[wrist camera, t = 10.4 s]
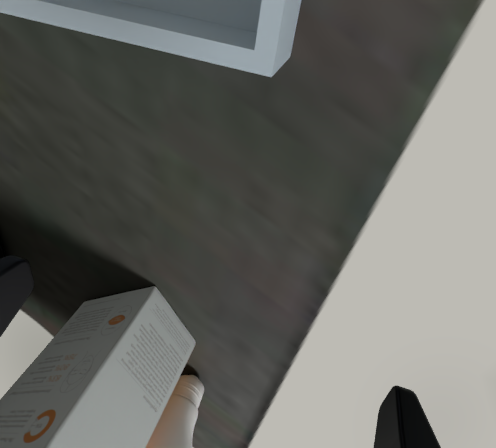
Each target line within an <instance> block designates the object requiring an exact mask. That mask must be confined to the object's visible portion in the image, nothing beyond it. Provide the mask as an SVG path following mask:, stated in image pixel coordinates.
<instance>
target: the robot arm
mask: <svg viewBox="0 0 496 448" xmlns="http://www.w3.org/2000/svg"><path fill="white" fill-rule="evenodd" d="M33 287H34V279H33V275H32V271H31V268H30V264H29V262H28V261H27V260H26V259H24V258H21V257H18V256H14V255H10V256H6V255H5V252H4V248H3V245H2V242H1V238H0V337H1V335H2V334H3V332H4V331H5V330H6V328H7V327H8V325H9V324H10V322H11V321H12V319H13V318H14V317H15V315H16V314H17V312H18V311H19V309H20V308H21V307H22V305H23V304H24V302H25V301H26V299H27V298H28V296H29V295H30V294H31V292H32V290H33ZM374 448H441V447H440V445H439V443H438V441H437V439H436V437H435V435H434V432H433V430H432V428H431V426H430V424H429V422H428V419H427V417H426V415H425V413H424V411H423V409H422V407H421V405H420V402H419V400H418V398H417V396H416V394H415V393H414V392H413V391H411V390H409V389H405V388H402V387H399V386H394V387H393V388H392V389H391V391H390V392H389V393H388V395H387V397H386V398H385V400H384V401H383V403H382V405H381V406H380V410H379V413H378V420H377V428H376V435H375V442H374Z"/></svg>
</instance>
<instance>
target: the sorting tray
mask: <svg viewBox="0 0 496 448" xmlns="http://www.w3.org/2000/svg"><path fill="white" fill-rule="evenodd" d="M300 5H301V0H0V12H1V13H5V14H9V15H14V16H18V17H22V18H26V19H30V20H34V21H39V22H43V23H47V24H51V25H55V26H59V27H64V28H68V29H72V30H76V31H80V32H85V33H89V34H93V35H97V36H101V37H105V38H110V39H114V40H118V41H122V42H126V43H130V44H135V45H139V46H143V47H147V48H151V49H156V50H160V51H164V52H168V53H172V54H176V55H181V56H185V57H189V58H193V59H197V60H201V61H206V62H210V63H214V64H218V65H222V66H226V67H231V68H235V69H239V70H243V71H247V72H252V73H256V74H260V75H264V76H268V77H272V76H273V75H274V74H275V73H276V72H277V71H278V70H279V68H280V67H281V66H282V65H283V64H284V63H285V62H286V61H287V60H288V59H289V58H290V55H291V50H292V45H293V40H294V35H295V30H296V25H297V20H298V15H299V10H300Z"/></svg>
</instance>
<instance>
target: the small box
mask: <svg viewBox="0 0 496 448" xmlns="http://www.w3.org/2000/svg"><path fill="white" fill-rule="evenodd" d="M195 344H196V343H195V340H194V338H193V337H192V336H191V334H190V333H189V331H188V330H187V329H186V327H185V326H184V325H183V323H182V322H181V321H180V319H179V318H178V316H177V315H176V314H175V312H174V311H173V309H172V308H171V306H170V305H169V304H168V302H167V301H166V299H165V298H164V297H163V296H162V294H161V293H160V291H159V290H158V289H157V288H156V287H155V286H152V287H148V288H144V289H139V290H134V291H130V292H125V293H121V294H116V295H112V296H107V297H103V298H99V299H94V300H90V301H85V302H84V303H83V304H82V305H81V306H80V307H79V309H78V310H77V311H76V312H75V313H74V314H73V316H72V317H71V318H70V319H69V320H68V321H67V323H66V324H65V325H64V326H63V327H62V329H61V330H60V331H59V332H58V333H57V335H56V336H55V337H54V338H53V339H52V341H51V342H50V343H49V344H48V345H47V346H46V348H45V349H44V350H43V351H42V352H41V353H40V355H39V356H38V357H37V358H36V359H35V360H34V362H33V363H32V364H31V365H30V366H29V367H28V368H27V369H26V371H25V372H24V373H23V374H22V375H21V376H20V378H19V379H18V380H17V381H16V382H15V383H14V384H13V386H12V387H11V388H10V389H9V390H8V391H7V393H6V394H5V395H4V396H3V397H2V398H1V400H0V448H146V445H147V443H148V442H149V439H150V437H151V435H152V433H153V431H154V429H155V427H156V425H157V423H158V421H159V419H160V417H161V415H162V413H163V410H164V408H165V406H166V404H167V402H168V400H169V398H170V396H171V394H172V392H173V390H174V388H175V386H176V384H177V382H178V380H179V378H180V375H181V373H182V371H183V369H184V367H185V365H186V363H187V361H188V359H189V357H190V355H191V353H192V351H193V349H194V346H195Z"/></svg>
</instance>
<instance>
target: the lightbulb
mask: <svg viewBox="0 0 496 448" xmlns="http://www.w3.org/2000/svg"><path fill="white" fill-rule="evenodd" d="M203 393H204V387H203V384H202V383H201V382H200V381H199V379H198V378H197V377H196V376H194V375H182V376H180V378H179V380H178V382H177V384H176V386H175V388H174V390H173V392H172V394H171V396H170V398H169V400H168V402H167V404H166V406H165V408H164V410H163V413H162V415H161V417H160V419H159V421H158V423H157V425H156V427H155V429H154V431H153V433H152V435H151V437H150V439H149V442H148V443H147V445H146V448H192V437H193V430H194V426H195V423H196V420H197V417H198V410H197V409H198V406H199V404H200V401H201V399H202V395H203Z"/></svg>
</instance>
